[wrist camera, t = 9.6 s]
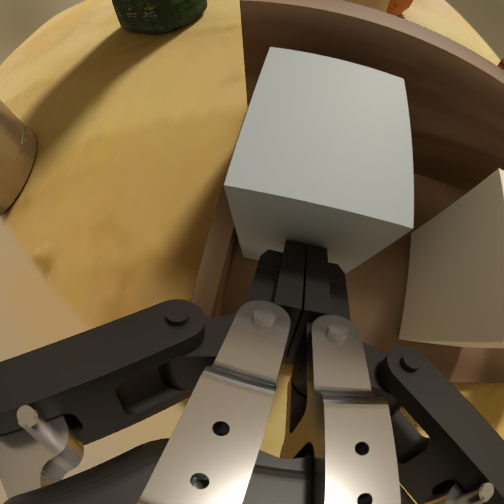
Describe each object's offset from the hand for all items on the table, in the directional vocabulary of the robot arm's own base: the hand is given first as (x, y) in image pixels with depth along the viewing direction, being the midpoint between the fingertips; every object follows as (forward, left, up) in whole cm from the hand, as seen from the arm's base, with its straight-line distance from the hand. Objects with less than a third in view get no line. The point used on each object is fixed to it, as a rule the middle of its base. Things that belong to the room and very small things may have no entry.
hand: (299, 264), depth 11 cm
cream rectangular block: (+8, -4, -5) cm, 10 cm away
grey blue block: (+2, +3, -5) cm, 6 cm away
